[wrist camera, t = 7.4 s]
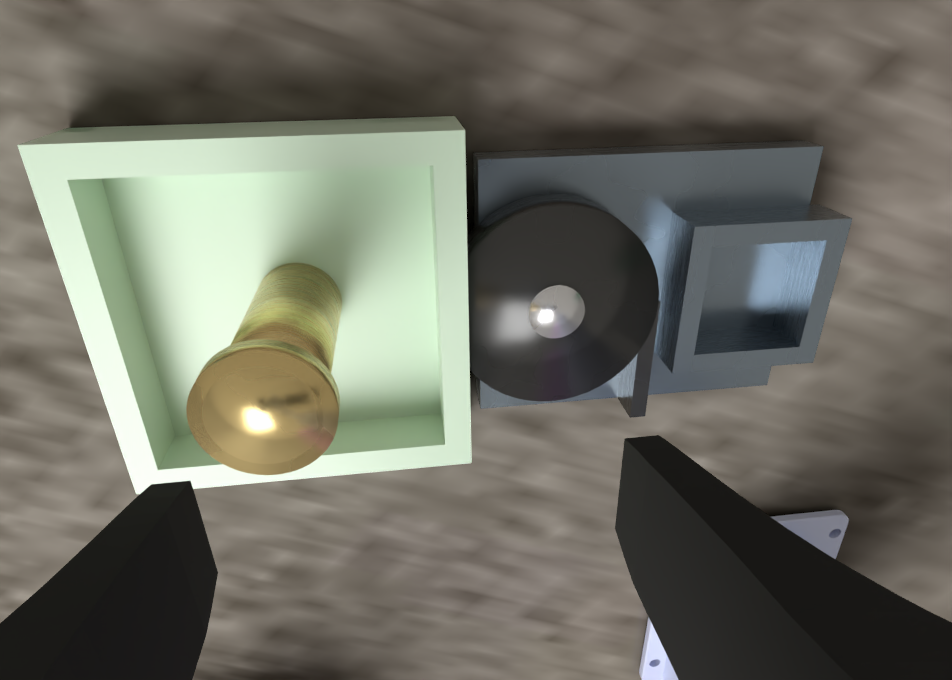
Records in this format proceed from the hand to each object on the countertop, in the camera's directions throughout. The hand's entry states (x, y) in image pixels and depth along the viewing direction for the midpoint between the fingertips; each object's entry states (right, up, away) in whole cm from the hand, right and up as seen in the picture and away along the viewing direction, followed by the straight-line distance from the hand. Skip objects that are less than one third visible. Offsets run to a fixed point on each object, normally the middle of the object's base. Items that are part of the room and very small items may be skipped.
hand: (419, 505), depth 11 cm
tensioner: (+6, +5, +9) cm, 12 cm away
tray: (-4, +4, +8) cm, 10 cm away
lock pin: (-4, +4, +8) cm, 10 cm away
